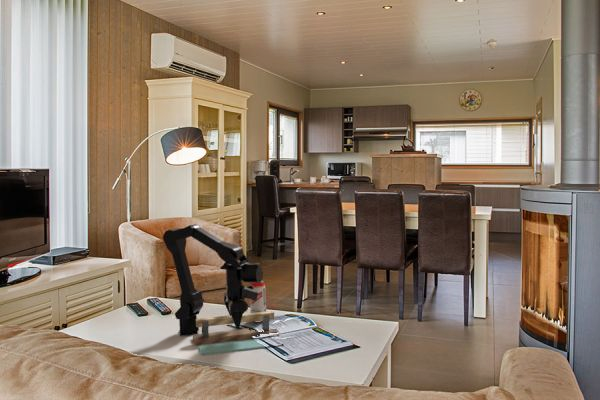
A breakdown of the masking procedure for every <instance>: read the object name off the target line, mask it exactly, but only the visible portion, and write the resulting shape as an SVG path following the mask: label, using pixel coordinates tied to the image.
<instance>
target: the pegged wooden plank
mask: <svg viewBox="0 0 600 400" xmlns="http://www.w3.org/2000/svg"><path fill="white" fill-rule="evenodd" d="M270 321H271V320H270V315H264V320H262V322H261V324H262V325H261V327H262V329H263V330H264V331H269V326H270ZM202 325H203V327H201V334H202V337H203V338H209V333H210V332H209V327H210V326H209V325H208V321H203V322H202Z"/></svg>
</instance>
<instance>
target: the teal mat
mask: <svg viewBox="0 0 600 400" xmlns="http://www.w3.org/2000/svg"><path fill="white" fill-rule="evenodd" d="M258 349H259V350H260V349H265V346H264V345H262V344H260V343H257V342H255V341H254V340H253V339H248V340H239V341H231V342H222V343H214V344H205V345H198V350H199V352H200V356H209V355H218V354H223V353H224V354H225V353H226V354H227V353H233V352H241V351H251V350H258Z"/></svg>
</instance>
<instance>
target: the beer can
mask: <svg viewBox="0 0 600 400" xmlns="http://www.w3.org/2000/svg"><path fill="white" fill-rule="evenodd" d="M249 285H251V286H253V289H255V290H257V291H258V292H259V294H258V297H257V300H256V301H254V300H252V299H249V310H250V312H249V313H258V312H267V302H266V301H267V298H266V297H267V296H266V284H265V281H264V280H263V279H262V281H261V283H250V284H249Z"/></svg>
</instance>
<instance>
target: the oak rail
mask: <svg viewBox="0 0 600 400" xmlns="http://www.w3.org/2000/svg"><path fill="white" fill-rule="evenodd" d="M264 315H270V321H271V320H275V312H274V311H273V310H269V311H266V312H258V313H250V312H249V313H243V315H242V319H241V323H249V322H250V323H251V322H253V321H261V320H264ZM203 321H208V325H209V327H213V326H215V327H216V326H225V325H231V324H232V325H233V324H234V325H235V323H234V321H233V319H232V316H231V315H223V316H222V315H220V316H211V317H203V318H202V317H201V318H197V319H196V327H199V328H202V327H203V325H202V322H203ZM241 323H240V324H241Z"/></svg>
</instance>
